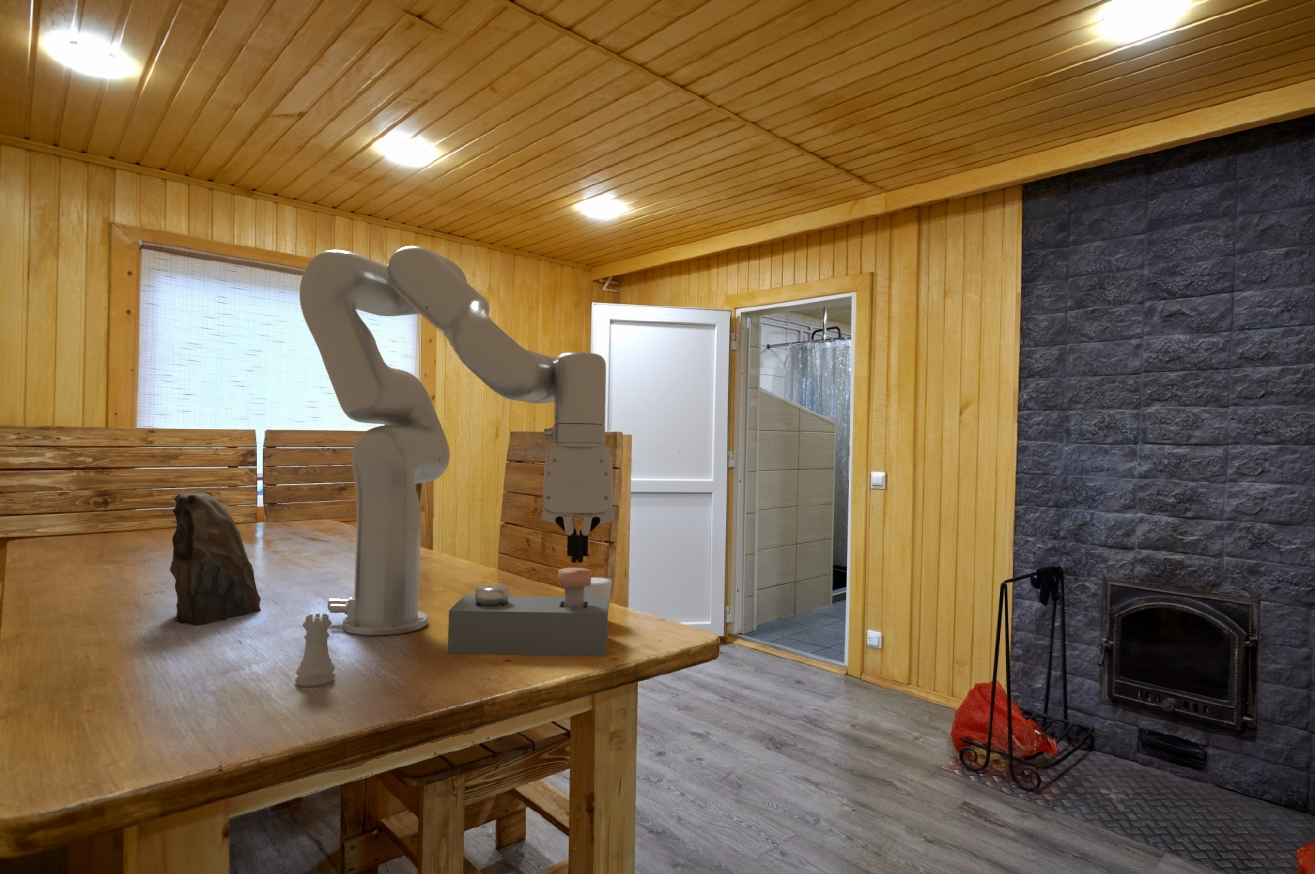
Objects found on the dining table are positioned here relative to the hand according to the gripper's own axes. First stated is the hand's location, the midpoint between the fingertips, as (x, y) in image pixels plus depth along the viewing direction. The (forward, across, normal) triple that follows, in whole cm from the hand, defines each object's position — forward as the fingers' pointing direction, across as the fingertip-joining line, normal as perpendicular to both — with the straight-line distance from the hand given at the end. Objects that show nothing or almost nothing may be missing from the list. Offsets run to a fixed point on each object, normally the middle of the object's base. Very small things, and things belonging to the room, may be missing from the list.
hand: (577, 561), depth 105 cm
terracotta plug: (+9, 0, 0) cm, 9 cm away
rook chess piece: (+12, -30, -17) cm, 37 cm away
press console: (+12, -6, 0) cm, 14 cm away
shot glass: (+13, +2, +14) cm, 19 cm away
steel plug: (+12, -13, 0) cm, 17 cm away
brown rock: (+12, -60, +14) cm, 62 cm away
